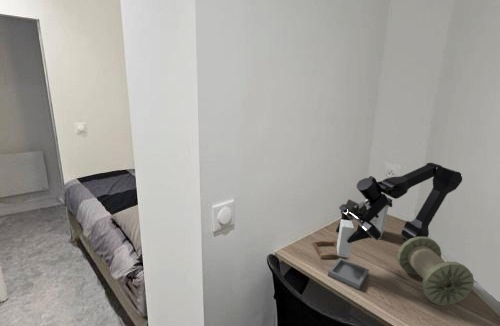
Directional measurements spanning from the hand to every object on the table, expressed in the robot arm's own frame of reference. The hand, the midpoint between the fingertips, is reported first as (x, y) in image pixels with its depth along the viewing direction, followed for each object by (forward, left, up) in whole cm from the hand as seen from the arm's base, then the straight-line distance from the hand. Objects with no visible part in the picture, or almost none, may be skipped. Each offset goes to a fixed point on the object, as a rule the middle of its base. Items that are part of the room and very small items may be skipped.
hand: (342, 236), depth 100 cm
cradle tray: (-5, +1, -13) cm, 14 cm away
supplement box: (-2, -38, -13) cm, 41 cm away
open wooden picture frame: (+7, -9, -13) cm, 18 cm away
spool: (-28, -11, -14) cm, 33 cm away
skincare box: (-1, -1, -7) cm, 7 cm away
